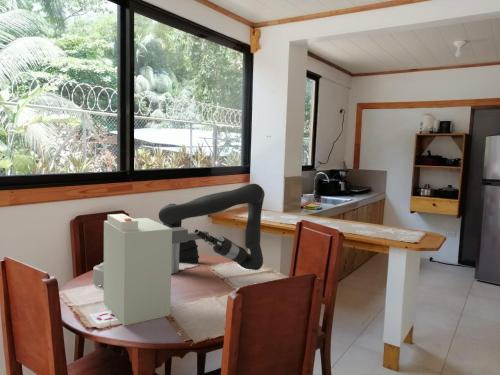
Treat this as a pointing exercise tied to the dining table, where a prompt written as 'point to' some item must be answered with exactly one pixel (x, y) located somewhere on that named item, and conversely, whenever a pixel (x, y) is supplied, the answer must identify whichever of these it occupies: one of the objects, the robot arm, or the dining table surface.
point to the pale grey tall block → (137, 268)
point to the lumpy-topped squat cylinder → (98, 274)
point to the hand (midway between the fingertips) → (196, 232)
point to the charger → (184, 235)
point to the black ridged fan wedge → (188, 252)
